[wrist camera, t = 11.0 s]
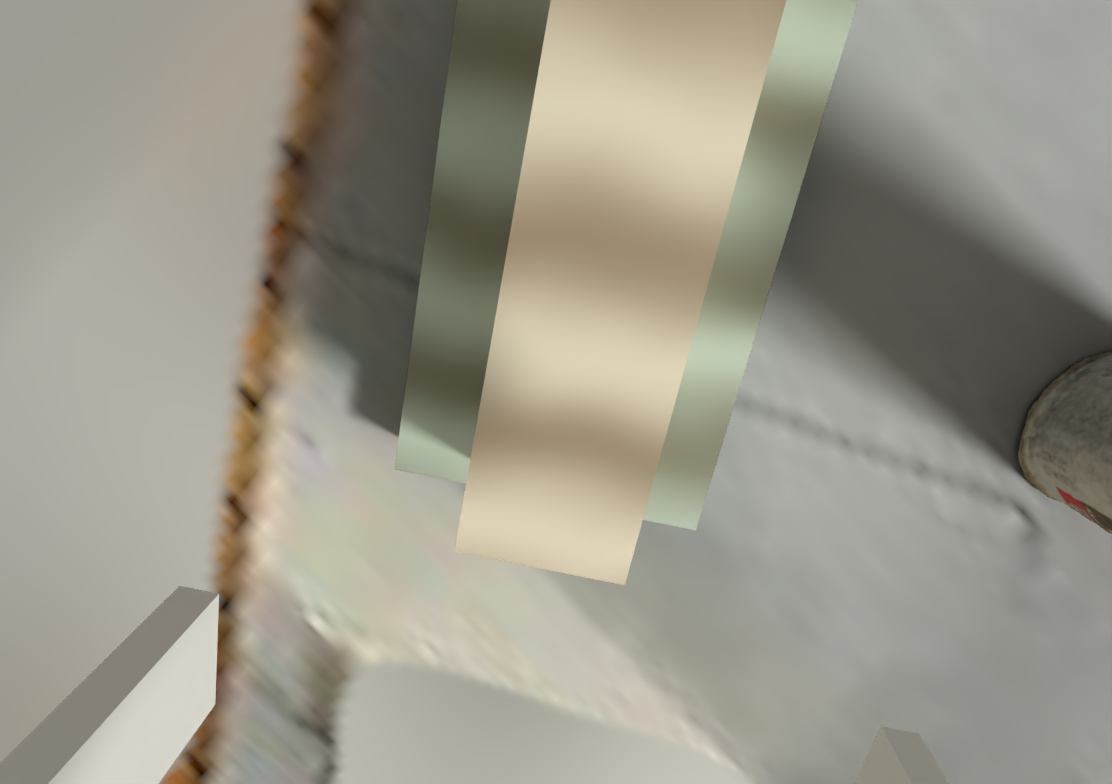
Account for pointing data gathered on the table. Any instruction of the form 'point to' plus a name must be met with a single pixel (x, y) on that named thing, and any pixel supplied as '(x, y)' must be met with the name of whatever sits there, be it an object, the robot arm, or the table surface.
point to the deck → (486, 217)
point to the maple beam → (608, 270)
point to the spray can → (1074, 440)
